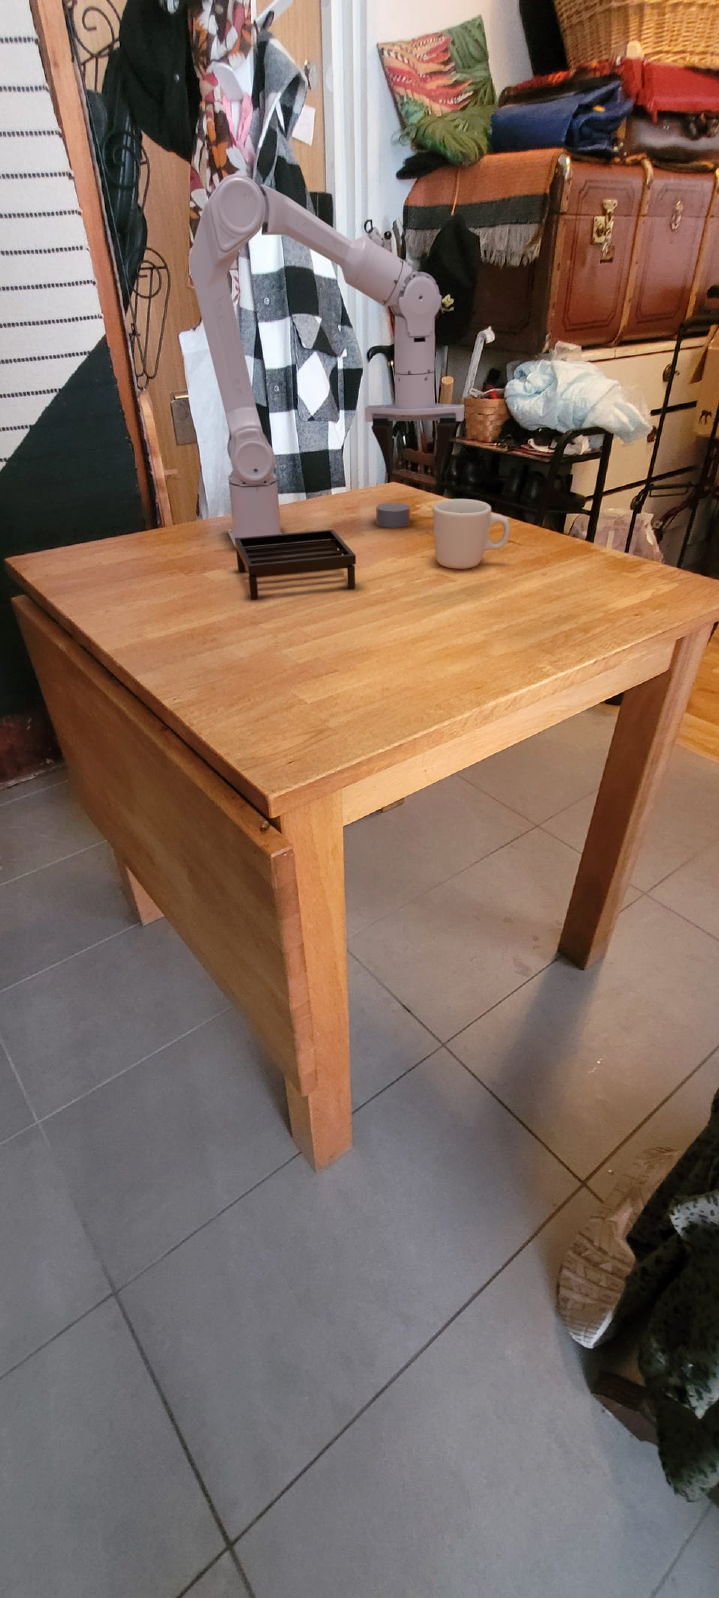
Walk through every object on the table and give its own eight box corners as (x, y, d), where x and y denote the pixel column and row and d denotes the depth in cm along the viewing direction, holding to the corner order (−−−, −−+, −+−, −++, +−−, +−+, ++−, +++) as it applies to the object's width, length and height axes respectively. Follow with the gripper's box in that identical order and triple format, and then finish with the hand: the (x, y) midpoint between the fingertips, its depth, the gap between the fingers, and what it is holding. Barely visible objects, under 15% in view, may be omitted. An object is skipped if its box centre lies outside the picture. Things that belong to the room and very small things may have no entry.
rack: (237, 570, 108) (234, 537, 106) (333, 560, 111) (333, 529, 109) (251, 600, 99) (248, 565, 96) (356, 589, 102) (355, 555, 99)
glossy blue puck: (372, 519, 128) (372, 503, 127) (403, 517, 129) (403, 501, 128) (381, 529, 124) (381, 512, 122) (413, 526, 125) (414, 509, 124)
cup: (504, 556, 112) (510, 499, 108) (507, 574, 106) (514, 514, 101) (430, 554, 113) (433, 497, 108) (429, 572, 107) (432, 513, 102)
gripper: (467, 367, 112) (464, 466, 120) (370, 369, 115) (373, 465, 123) (462, 374, 106) (459, 477, 114) (360, 375, 109) (364, 476, 117)
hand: (414, 472), depth 118 cm, fingers open, 7 cm apart
